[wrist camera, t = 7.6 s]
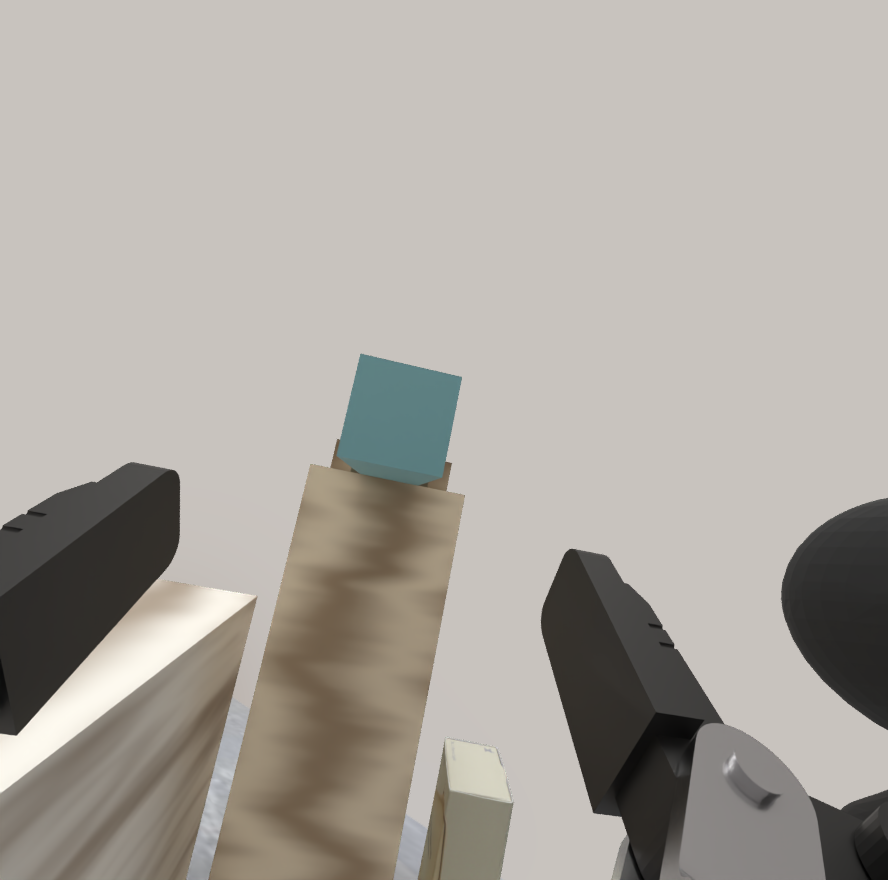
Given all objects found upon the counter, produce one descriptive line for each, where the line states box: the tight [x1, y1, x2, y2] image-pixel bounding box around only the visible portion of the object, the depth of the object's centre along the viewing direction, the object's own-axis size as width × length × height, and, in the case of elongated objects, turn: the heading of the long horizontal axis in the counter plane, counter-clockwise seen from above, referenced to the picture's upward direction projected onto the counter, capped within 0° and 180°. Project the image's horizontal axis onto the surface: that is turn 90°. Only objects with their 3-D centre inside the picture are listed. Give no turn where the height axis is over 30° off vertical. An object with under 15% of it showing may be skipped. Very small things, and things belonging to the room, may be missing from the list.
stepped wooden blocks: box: [0, 439, 465, 880], centre depth 20 cm, size 19×25×32 cm
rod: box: [336, 354, 462, 486], centre depth 25 cm, size 3×26×3 cm, turn 7°
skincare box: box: [418, 737, 513, 880], centre depth 29 cm, size 6×4×12 cm
